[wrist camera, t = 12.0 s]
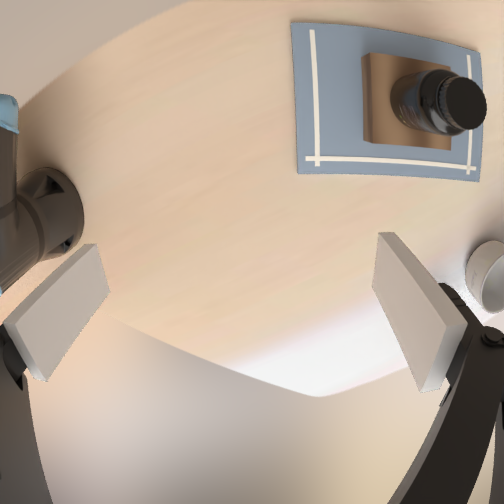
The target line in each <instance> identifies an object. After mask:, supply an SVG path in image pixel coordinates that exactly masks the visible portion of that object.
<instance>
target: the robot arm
mask: <svg viewBox="0 0 504 504" xmlns="http://www.w3.org/2000/svg"><path fill="white" fill-rule="evenodd" d="M18 134H19V130H18V103H17V101H16V99H15V98H14V97H12V96H10V95H4V94H0V296H1V295H2V294H3V293H4V292H5V291H6V290H7V289H8V288H9V287H10V286H11V285H13V284H14V283H15V282H16V281H17V280H18V279H19V278H20V277H21V276H23V275H24V274H25V273H26V272H27V271H28V270H29V269H31V268H32V267H33V266H34V265H35V264H36V263H38V262H40V261H44V260H48V259H52V258H56V257H60V256H62V255H64V254H66V253H67V252H68V251H70V250H71V249H72V248H73V247H74V246H75V245H76V244H77V243H78V241H79V239H80V237H81V235H82V231H83V226H84V214H83V207H82V203H81V200H80V197H79V195H78V193H77V191H76V189H75V187H74V186H73V184H72V183H71V182H70V180H69V179H68V178H67V177H66V176H65V175H63V174H62V173H61V172H59V171H57V170H55V169H52V168H40V169H37V170H35V171H32V172H30V173H28V174H26V175H25V176H24V177H23V178H22V179H21V180H20V181H19V182H18V183H17V180H16V162H17V138H18ZM372 288H373V290H374V292H375V294H376V296H377V298H378V300H379V302H380V304H381V306H382V308H383V310H384V312H385V314H386V316H387V318H388V320H389V323H390V325H391V327H392V329H393V331H394V333H395V336H396V338H397V340H398V342H399V344H400V347H401V349H402V351H403V353H404V356H405V358H406V360H407V363H408V365H409V367H410V370H411V372H412V374H413V377H414V379H415V382H416V384H417V387H418V389H419V391H420V393H423V392H428V391H433V390H438V389H440V387H441V385H442V383H443V381H444V379H445V377H446V378H447V380H448V382H449V384H450V386H449V388H448V390H447V392H446V394H445V396H444V398H443V400H442V401H441V403H440V405H439V406H440V409H439V411H438V414H437V416H436V418H435V420H434V422H433V424H432V426H431V428H430V431H429V433H428V435H427V437H426V439H425V441H424V443H423V444H422V446H421V449H420V450H419V452H418V454H417V456H416V458H415V459H414V461H413V463H412V465H411V467H410V468H409V470H408V472H407V473H406V475H405V477H404V479H403V480H402V482H401V483H400V485H399V486H398V488H397V490H396V491H395V493H394V494H393V496H392V497H391V499H390V500H389V502H388V503H387V504H467V502H468V499H469V497H470V495H471V493H472V490H473V488H474V485H475V483H476V480H477V478H478V475H479V472H480V470H481V467H482V464H483V461H484V458H485V455H486V452H487V449H488V446H489V442H490V439H491V435H492V432H493V428H494V425H495V454H494V468H493V477H492V486H491V493H490V500H489V504H504V334H503V333H502V332H501V331H500V330H498V329H496V328H494V327H489V326H483V325H482V324H481V323H480V321H479V320H478V319H477V317H476V316H475V315H474V314H473V312H472V311H471V310H470V308H469V307H468V306H466V303H465V302H464V301H463V300H462V299H461V297H460V296H459V295H458V293H457V292H456V291H455V290H454V289H453V288H451V287H450V286H448V285H447V284H445V283H437V282H436V281H435V279H434V278H433V277H432V276H431V275H430V273H429V272H428V271H427V270H426V268H425V267H424V266H423V265H422V264H421V262H420V261H419V260H418V259H417V258H416V257H415V255H414V254H413V253H412V252H411V251H410V250H409V248H408V247H407V246H406V245H405V244H404V243H403V242H402V240H401V239H400V238H399V237H398V236H397V235H396V234H395V233H394V232H381V233H378V243H377V252H376V261H375V269H374V276H373V284H372ZM109 293H110V289H109V286H108V283H107V279H106V276H105V272H104V269H103V265H102V262H101V258H100V254H99V251H98V247H97V244H84V245H83V246H82V247H81V248H80V249H79V250H77V251H76V252H75V253H74V254H73V255H72V256H70V257H69V258H68V259H67V260H66V261H65V262H64V263H63V264H61V265H60V266H59V267H58V268H57V269H56V270H55V271H54V272H53V273H52V274H51V275H49V276H48V277H47V278H46V279H45V280H44V281H43V282H42V283H41V284H40V285H39V286H38V287H37V288H36V289H35V290H34V291H33V292H32V293H31V294H30V295H29V296H27V297H26V298H25V299H24V300H23V301H22V302H21V303H20V304H19V305H18V306H17V307H16V309H15V310H14V311H13V312H12V313H11V314H10V315H9V316H8V317H7V318H6V319H5V320H4V321H3V324H2V325H1V326H0V504H53V502H52V499H51V496H50V493H49V490H48V487H47V483H46V480H45V476H44V472H43V469H42V465H41V460H40V456H39V452H38V448H37V442H36V437H35V432H34V427H33V421H32V415H31V408H30V401H29V392H28V383H27V378H26V376H25V375H24V373H23V372H24V371H25V369H26V368H28V370H29V371H30V373H31V375H32V376H33V378H35V379H38V380H41V381H45V382H47V380H48V379H49V377H50V376H51V375H52V373H53V372H54V370H55V369H56V367H57V366H58V364H59V363H60V361H61V360H62V358H63V356H64V355H65V354H66V352H67V351H68V349H69V348H70V346H71V345H72V344H73V342H74V341H75V339H76V338H77V336H78V335H79V334H80V332H81V331H82V329H83V328H84V327H85V325H86V324H87V323H88V321H89V320H90V318H91V317H92V316H93V314H94V313H95V312H96V310H97V309H98V308H99V306H100V305H101V304H102V302H103V301H104V300H105V298H106V297H107V296H108V294H109Z"/></svg>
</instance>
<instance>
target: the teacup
mask: <svg viewBox="0 0 504 504" xmlns="http://www.w3.org/2000/svg"><path fill="white" fill-rule="evenodd" d="M465 281H466V285H467V288H468V290H469V292H470V293H471V295H472V296H473V297H474V298H475V299H476V301H477V302H478V303H479V304H480V305H481V306H482V308H483V309H484V310H485V311H486V312H488V313H492V314H494V313H499V312H501V311H503V310H504V243H502V242H499V241H488V242H485V243H483V244H482V245H480V246H479V247H478V248H477V249H476V250H475V251H474V252H473V254H472V255H471V257H470V259H469V261H468V264H467V267H466V272H465Z"/></svg>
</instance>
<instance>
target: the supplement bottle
mask: <svg viewBox="0 0 504 504" xmlns="http://www.w3.org/2000/svg"><path fill="white" fill-rule="evenodd" d="M390 104H391V108H392V111H393V113H394V114H395V116H396V118H397V119H398V120H399V121H400V122H401V123H402V124H403V125H405V126H407V127H409V128H411V129H415V130H419V131H424V132H428V133H433V134H437V135H441V136H448V137H453V136H457V135H460V134H462V133H463V132H465V131H466V130H474V129H476V128H478V127H479V126H481V124H482V123H483V121H484V119H485V116H486V111H487V104H486V99H485V96H484V94H483V92H482V90H481V89H480V87H479V85H477V83H476V82H474V81H473V80H472V79H469V78H468V77H463V76H459V75H458V74H457V73H455V72H453V71H451V70H448V69H443V68H438V69H431V70H426V71H421V72H416V73H412V74H408V75H405V76H402V77H400V78H399V79H398V80H397V81H396V82H395V83H394V85H393V86H392V89H391V92H390Z"/></svg>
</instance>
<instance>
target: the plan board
mask: <svg viewBox="0 0 504 504" xmlns="http://www.w3.org/2000/svg"><path fill="white" fill-rule="evenodd" d="M291 37H292V51H293V68H294V87H295V109H296V137H297V173H298V174H364V175H391V176H411V177H426V178H440V179H452V180H463V181H473V182H479V179H480V169H481V157H482V140H483V123H482V124H481V126H479V127H478V128H476V129H474V130H466V131H465V132H463V133H462V134H460V135H457V136H453V137H452V139H451V151H449V150H441V149H433V148H423V147H413V146H402V145H388V144H372V143H370V142H367V141H364V140H363V90H362V69H361V57H363V56H364V55H366V54H368V53H369V52H372V53H380V54H387V55H394V56H400V57H406V58H412V59H418V60H423V61H428V62H432V63H437V64H441V65H446V66H450V67H451V71H453V72H455V73H457V74H458V75H459V76H463V77H468V78H469V79H472V80H473V81H474V82H476V83H477V85H479V87H480V89H481V90H482V92H483V84H482V68H481V56H480V53H479V52H476V51H473V50H469V49H466V48H463V47H460V46H456V45H453V44H449V43H445V42H442V41H438V40H434V39H430V38H425V37H421V36H416V35H411V34H406V33H401V32H395V31H389V30H383V29H376V28H368V27H360V26H350V25H339V24H324V23H291Z"/></svg>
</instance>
